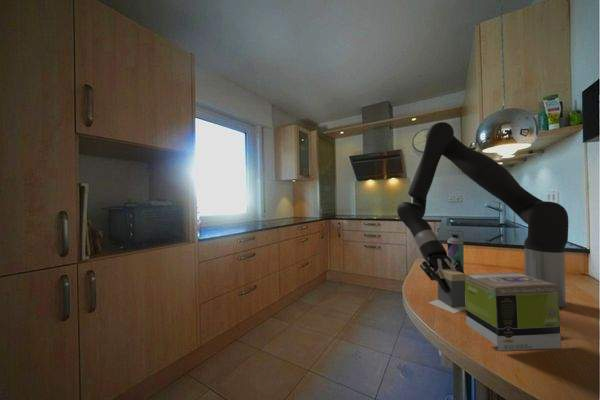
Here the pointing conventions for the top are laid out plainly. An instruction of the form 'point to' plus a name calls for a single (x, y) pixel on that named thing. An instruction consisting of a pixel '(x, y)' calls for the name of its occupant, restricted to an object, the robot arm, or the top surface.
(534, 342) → the tea box
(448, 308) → the board
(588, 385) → the top surface
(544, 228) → the robot arm
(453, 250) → the spray can
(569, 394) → the top surface
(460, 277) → the block
